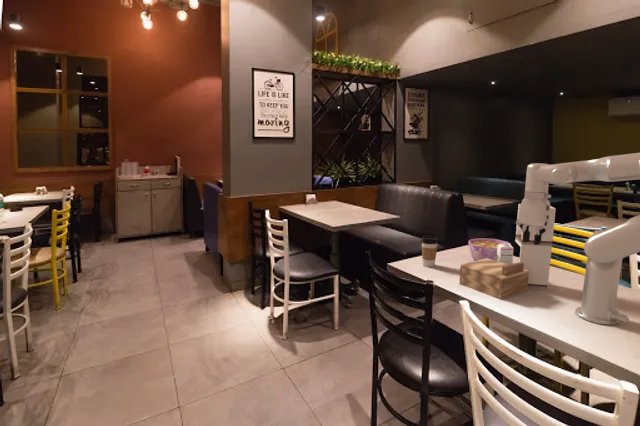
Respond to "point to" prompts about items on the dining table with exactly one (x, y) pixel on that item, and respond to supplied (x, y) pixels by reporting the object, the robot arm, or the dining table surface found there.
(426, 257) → the coffee cup
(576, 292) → the dining table surface
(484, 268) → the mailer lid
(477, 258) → the bowl of food
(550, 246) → the tall white box
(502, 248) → the syrup box
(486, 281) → the wooden box
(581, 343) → the dining table surface
